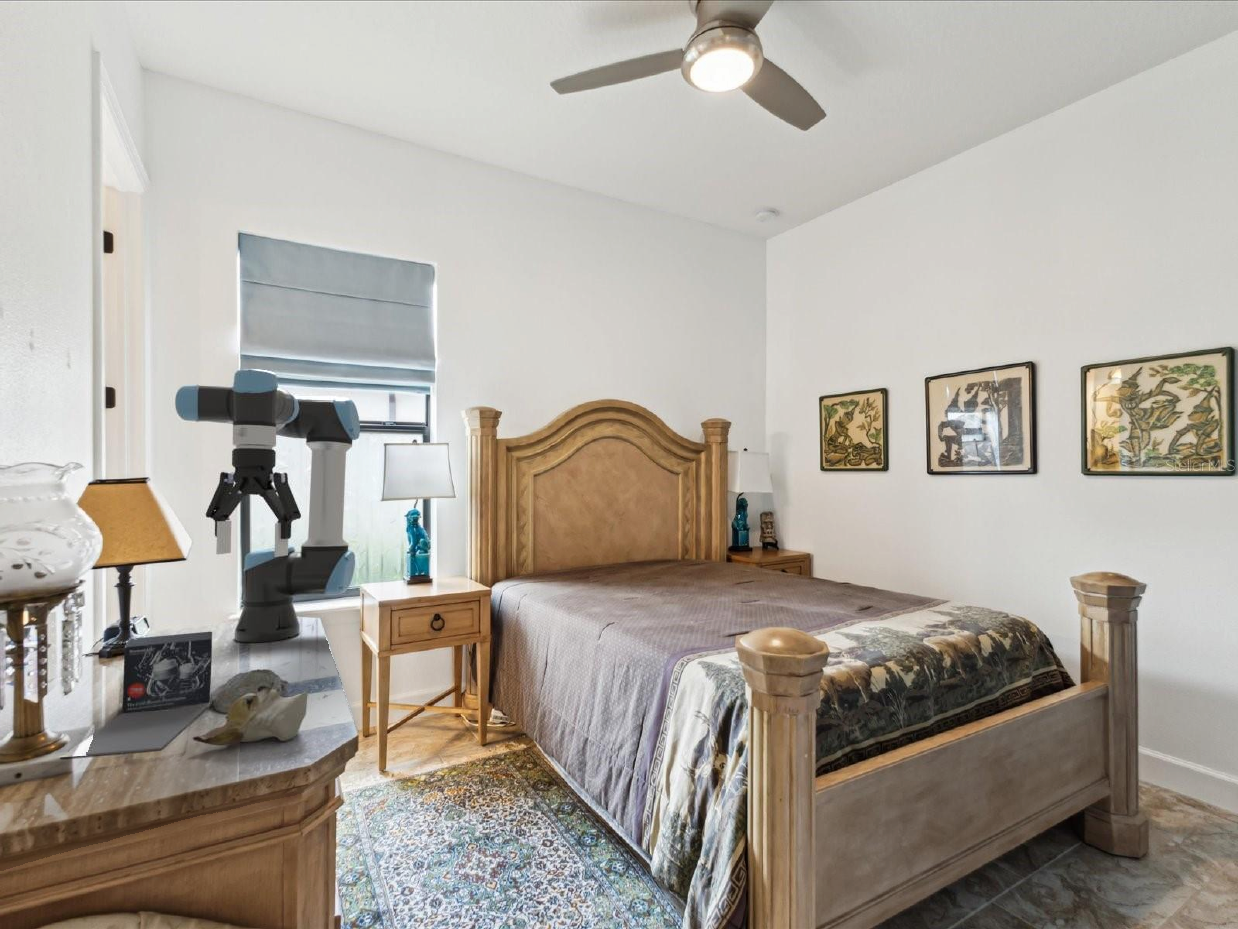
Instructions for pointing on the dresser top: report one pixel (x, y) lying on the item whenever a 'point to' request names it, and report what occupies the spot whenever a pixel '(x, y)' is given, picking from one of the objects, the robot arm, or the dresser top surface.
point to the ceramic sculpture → (260, 718)
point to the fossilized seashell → (245, 687)
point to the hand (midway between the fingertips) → (252, 554)
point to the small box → (167, 671)
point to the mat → (141, 731)
